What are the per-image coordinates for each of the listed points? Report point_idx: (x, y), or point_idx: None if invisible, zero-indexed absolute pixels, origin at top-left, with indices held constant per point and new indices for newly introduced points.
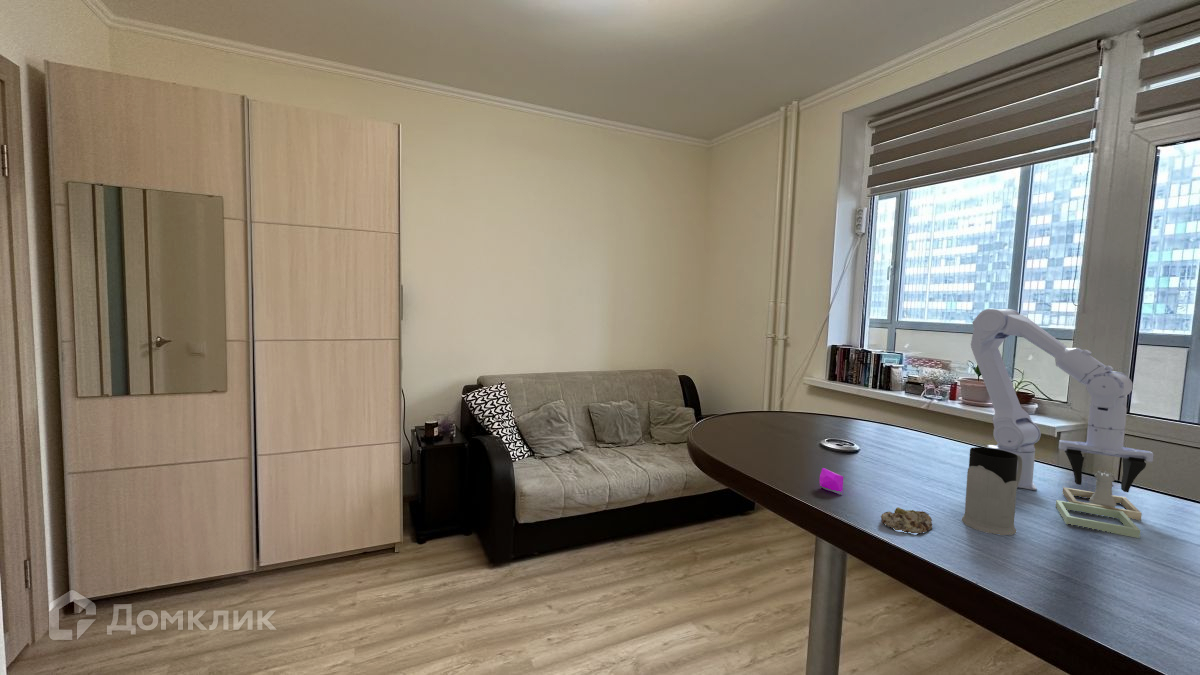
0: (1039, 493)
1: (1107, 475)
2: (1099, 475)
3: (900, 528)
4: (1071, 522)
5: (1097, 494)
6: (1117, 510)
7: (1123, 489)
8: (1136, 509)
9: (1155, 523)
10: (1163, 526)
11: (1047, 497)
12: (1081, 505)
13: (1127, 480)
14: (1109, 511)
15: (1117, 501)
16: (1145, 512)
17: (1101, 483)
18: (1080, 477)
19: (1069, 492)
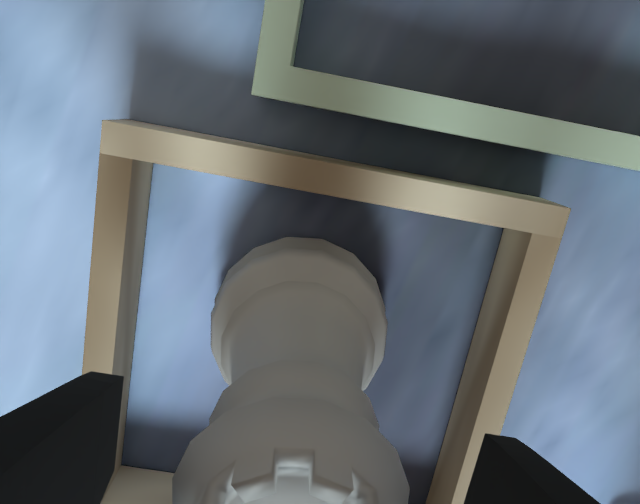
0: (612, 471)
1: (278, 492)
2: (380, 484)
3: None
4: None
5: (356, 339)
6: (269, 150)
7: (113, 413)
8: (105, 219)
9: (40, 104)
10: (6, 50)
11: (600, 401)
12: (552, 120)
13: (36, 438)
14: (356, 81)
15: (138, 482)
16: (19, 355)
17: (347, 394)
18: (544, 484)
19: (472, 461)
